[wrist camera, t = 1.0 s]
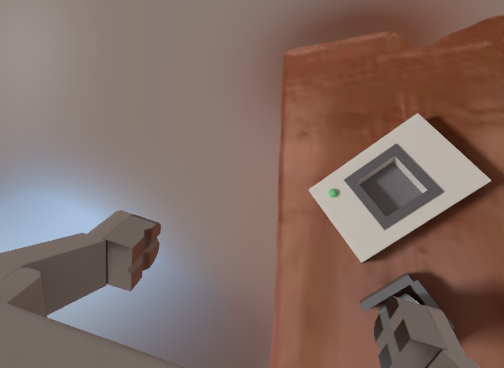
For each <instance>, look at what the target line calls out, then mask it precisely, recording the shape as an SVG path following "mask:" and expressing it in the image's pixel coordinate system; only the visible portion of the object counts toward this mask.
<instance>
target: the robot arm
mask: <svg viewBox="0 0 504 368" xmlns="http://www.w3.org/2000/svg"><path fill="white" fill-rule="evenodd" d="M160 230H161V225H160V224H159V223H158V222H155V221H152V220H149V219H146V218H143V217H140V216H137V215H134V214H131V213H128V212H125V211H122V210H121V211H116V212H115V213H114V214H112V215H111V216H110V217H108V218H107V219H106V220H105V221H103V222H102V223H101V224H99V225H98V226H97V227H95V228H94V229H93V230H91V231H90V232H89V233H88V234H84V233H80V234H76V235H72V236H68V237H64V238H60V239H56V240H52V241H48V242H44V243H40V244H36V245H32V246H28V247H24V248H20V249H15V250H11V251H8V252H3V253H0V368H187V367H184V366H181V365H179V364H176V363H173V362H170V361H167V360H165V359H162V358H159V357H156V356H153V355H151V354H148V353H145V352H142V351H139V350H136V349H133V348H131V347H128V346H125V345H122V344H120V343H117V342H114V341H111V340H108V339H106V338H103V337H100V336H97V335H94V334H92V333H89V332H86V331H83V330H80V329H78V328H75V327H72V326H69V325H66V324H63V323H61V322H58V321H55V320H52V319H50V318H47V315H49V314H51V313H53V312H55V311H57V310H58V309H61V308H63V307H64V306H66V305H68V304H70V303H72V302H74V301H76V300H78V299H80V298H82V297H84V296H86V295H88V294H90V293H92V292H94V291H96V290H98V289H100V288H102V287H104V286H106V284H108V285H112V286H115V287H118V288H121V289H125V290H128V291H131V290H132V289H133V288H134V287H135V285H136V284H137V283H138V282H139V280H140V279H141V278H142V271H143V270H146V269H148V268H150V266H151V265H152V264H153V262H154V260H155V258H156V256H157V253H158V250H159V241H158V240H157V238H156V237H157V236H158V235H159V234H160ZM385 305H386V309H387V310H386V311H383V312H381V313H379V315H378V317H377V319H376V320H375V325H374V338H375V343H376V344H377V345H378V346H379V348H380V349H381V350H382V351H381V352H380V354H379V355H378V357H379V361H380V365H381V368H481V367H480V366H479V365H478V364H477V363H476V362H475V361H474V360H473V359H470V358H467V357H466V355H465V353H464V351H463V349H462V347H461V345H460V344H459V342H458V340H457V338H456V336H455V334H454V332H453V330H452V328H451V326H450V324H449V322H448V320H447V318H446V317H445V315H444V313H443V312H442V311H441V310H439V309H436V308H432V307H429V306H425V305H420V304H417V303H414V302H411V301H407V300H404V299H401V298H398V297H394V296H391V297H390V298H388V300H387V302H386V303H385Z"/></svg>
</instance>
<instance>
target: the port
mask: <svg viewBox="0 0 504 368" xmlns="http://www.w3.org/2000/svg"><path fill="white" fill-rule="evenodd" d="M490 181H492V180H490V179H489V178H488V177H487V176H486V175H485V174H484V173H483V172H482V171H481V170H480V169H478V168H477V167H476V166H475V165H474V164H473V163H472V162H471V161H470V160H469V159H467V158H466V157H465V156H464V155H463V154H462V153H461V152H460V151H459V150H458V149H457V148H455V147H454V146H453V145H452V144H451V143H450V142H449V141H448V140H447V139H446V138H444V137H443V136H442V135H441V134H440V133H439V132H438V131H437V130H436V129H435V128H434V127H432V126H431V125H430V124H429V123H428V122H427V121H426V120H425V119H424V118H423V117H421V116H420V115H419V114H418V113H417V114H416V115H414V116H413V117H411V118H410V119H409V120H407V121H406V122H404V123H403V124H401V125H400V126H399V127H397V128H396V129H394V130H393V131H392V132H390V133H389V134H387V135H386V136H384V137H383V138H382V139H380V140H379V141H377V142H376V143H374V144H373V145H372V146H370V147H369V148H367V149H366V150H365V151H363V152H362V153H360V154H359V155H357V156H356V157H355V158H353V159H352V160H350V161H349V162H347V163H346V164H345V165H343V166H342V167H340V168H339V169H337V170H336V171H335V172H333V173H332V174H330V175H329V176H328V177H326V178H325V179H323V180H322V181H320V182H319V183H318V184H316V185H315V186H313V187H312V188H310V189H309V192H310V193H311V194H312V196H313V197H314V198H315V200H316V201H317V203H318V204H319V205H320V207H321V208H322V209H323V211H324V212H325V214H326V215H327V216H328V218H329V219H330V220H331V222H332V223H333V225H334V226H335V227H336V229H337V230H338V231H339V233H340V234H341V235H342V237H343V238H344V240H345V241H346V242H347V244H348V245H349V246H350V248H351V249H352V251H353V252H354V253H355V255H356V256H357V257H358V259H359V260H360V262H361V263H362V262H364V261H366V260H367V259H369V258H370V257H372V256H373V255H375V254H377V253H378V252H380V251H381V250H383V249H385V248H386V247H388V246H389V245H391V244H392V243H394V242H396V241H397V240H399V239H400V238H402V237H404V236H405V235H407V234H408V233H410V232H411V231H413V230H415V229H416V228H418V227H419V226H421V225H423V224H424V223H426V222H427V221H429V220H430V219H432V218H434V217H435V216H437V215H438V214H440V213H442V212H443V211H445V210H446V209H448V208H449V207H451V206H453V205H454V204H456V203H457V202H459V201H460V200H462V199H464V198H465V197H467V196H468V195H470V194H472V193H473V192H475V191H476V190H478V189H479V188H481V187H483V186H484V185H486V184H487V183H489V182H490Z"/></svg>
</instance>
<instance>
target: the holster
mask: <svg viewBox="0 0 504 368" xmlns="http://www.w3.org/2000/svg"><path fill="white" fill-rule="evenodd" d="M408 285H409V286H410V288H411V289H412V290H413V291H414V293H415V294H416V295H417V297H418V298H419V299H420V300H421V302H422V303H423V304H424V305H425V306H429V307H432V308H436V309H439V310H441V309H440V307H439V306H438V305H437V304H436V302H435V301H434V300H433V299H432V297H431V296H430V295H429V294H428V292H427V291H426V290H425V289H424V287H423V286H422V285H421V284H420V282H419V281H418V280H416V279H411V278H410V277H409V275H408V274H404V275H402V276H400V277H399V278H397V279H395V280H394V281H392V282H390V283H389V284H387V285H386V286H384V287H382V288H381V289H379V290H377V291H376V292H374V293H372V294H371V295H369V296H367V297H366V298H364V299H363V300H361V301H360V305H361V307H362V308H363V310H364V311H366V310H368V309H370V308H371V307H373V306H375V305H376V304H378V303H380V302H381V301H383V300H385V299H386V298H388V297H390V296H391V295H393V294H395V293H396V292H398V291H400V290H401V289H403V288H405V287H406V286H408ZM441 311H442V310H441ZM442 312H443V311H442ZM443 313H444V312H443ZM444 315H445V314H444ZM445 317H446V318H447V320H448V322H449V324H450V326H451V328H452V330H453V329H454V328H456V327H455V326H454V325H453V324H452V322H451V321H450V320H449V319H448V317H447V316H446V315H445ZM455 336H456V335H455ZM456 338H457V340H458V337H457V336H456Z"/></svg>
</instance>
